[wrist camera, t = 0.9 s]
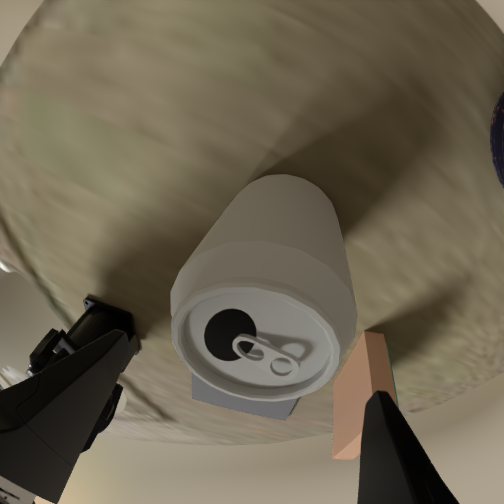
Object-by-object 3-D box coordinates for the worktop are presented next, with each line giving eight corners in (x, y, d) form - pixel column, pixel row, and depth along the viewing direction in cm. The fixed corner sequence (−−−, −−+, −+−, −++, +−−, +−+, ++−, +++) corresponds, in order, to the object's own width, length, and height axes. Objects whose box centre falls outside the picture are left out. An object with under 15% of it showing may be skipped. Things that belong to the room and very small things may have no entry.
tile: (333, 382, 27) (331, 458, 19) (363, 330, 23) (374, 419, 15) (354, 385, 27) (356, 459, 19) (387, 334, 23) (403, 420, 15)
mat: (193, 395, 33) (192, 398, 32) (194, 333, 27) (191, 337, 26) (286, 416, 32) (285, 420, 31) (315, 361, 26) (315, 366, 25)
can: (249, 154, 18) (166, 228, 8) (355, 197, 18) (407, 320, 8) (218, 248, 22) (146, 373, 11) (310, 283, 22) (302, 427, 11)
